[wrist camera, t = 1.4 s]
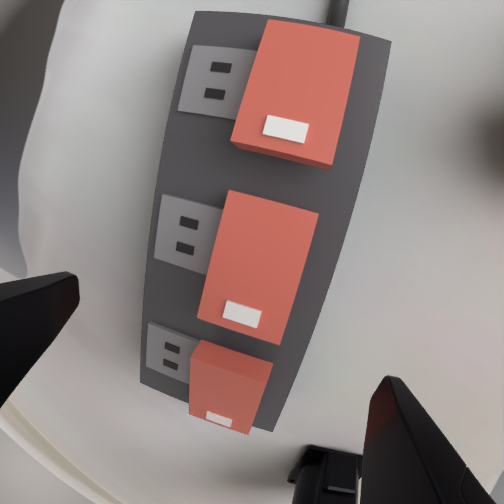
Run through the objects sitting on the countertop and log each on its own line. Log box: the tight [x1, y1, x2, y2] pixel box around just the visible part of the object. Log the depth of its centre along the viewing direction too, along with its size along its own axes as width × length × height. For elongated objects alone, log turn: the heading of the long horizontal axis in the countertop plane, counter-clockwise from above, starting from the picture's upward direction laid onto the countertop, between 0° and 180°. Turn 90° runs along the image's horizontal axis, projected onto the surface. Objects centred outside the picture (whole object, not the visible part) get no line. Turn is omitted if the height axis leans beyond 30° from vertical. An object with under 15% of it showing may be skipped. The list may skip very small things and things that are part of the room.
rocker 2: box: [197, 190, 319, 345], centre depth 15 cm, size 6×4×2 cm, turn 167°
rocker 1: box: [230, 19, 360, 171], centre depth 12 cm, size 6×4×2 cm, turn 167°
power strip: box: [140, 0, 391, 432], centre depth 16 cm, size 34×10×5 cm, turn 168°
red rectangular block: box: [189, 339, 273, 435], centre depth 17 cm, size 6×4×2 cm, turn 168°
